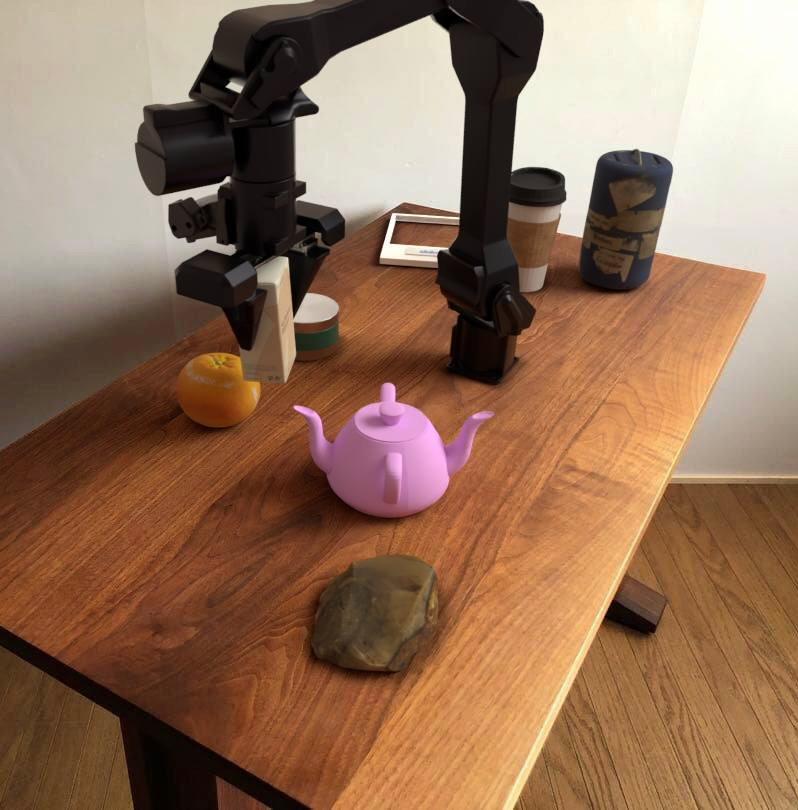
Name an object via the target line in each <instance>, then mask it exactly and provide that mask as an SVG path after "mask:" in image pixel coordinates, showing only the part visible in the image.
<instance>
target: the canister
mask: <svg viewBox="0 0 798 810" xmlns="http://www.w3.org/2000/svg"><path fill="white" fill-rule="evenodd" d="M673 174H674V165H673V163H672V162H671V161H670V160H669V159H668V158H666V157H664V156H662V155H660V154H657V153H653V152H649V151H644V150H643V151H642V150H640V149H639V148H633V149H632V150H631V149H618V150H611V151H608V152H605V153H603V154H602V155H600V156H599V157H598V159H597V161H596V164H595V170H594V174H593V181H592V185H591V190H590V191H591V192H590V198H589V203H588V208H587V213H586V217H585V222H584V228H583V234H582V239H581V245H580V251H579V258H578V262H577V263H578V264H577V270H578V273H579V275H580V276H581V278H582V279H584V280H585V281H586V282H588V283H590V284H593V286H597V287H602V288H605V289H610V290H632V289H635V288H639V287H641V286H643V285H644V284H646V282H647V281H648V280H649V278H650V276H651V271H652V266H653V262H654V258H655V254H656V250H657V245H658V240H659V236H660V232H661V227H662V224H663V220H664V216H665V212H666V211H665V209H666V207H667V201H668V197H669V191H670V187H671V185H672V184H671V183H672V180H673Z"/></svg>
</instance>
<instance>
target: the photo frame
mask: <svg viewBox="0 0 798 810" xmlns="http://www.w3.org/2000/svg"><path fill="white" fill-rule="evenodd" d="M396 221H397V222H409V223H410V222H412V223H424V224H425V223H426V224H439V225H440V224H442V225H456V226H459V217H455V216H441V215H439V216H438V215H424V214H410V213H397V212H396V213H395V212H394V213H393V212H392V213H391V217H390V221H389V224H388V228H387V231H386V235H385V239H384V242H383V244H382V248H381V252H380V256H379V264H380V265H391V266H392V265H393V266H405V267H406V266H407V267H418V268H419V267H420V268H431V269H432V268H433V269H434V268H435V269H438V261H437V254H438V252H439V251H440V250H445V249H448V248H449V247H439V246H427V245H425V246H424V245H414V244H413V245H411V244H397V243H396V244H395V243H391V241H392V237H393V232H394V229H395V225H396Z"/></svg>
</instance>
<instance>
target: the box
mask: <svg viewBox="0 0 798 810" xmlns="http://www.w3.org/2000/svg"><path fill="white" fill-rule="evenodd" d="M257 276H258V285H257V287H258V288H261V289H265V290H267V296H266V300H265V304H264V308H263V312H262V316H261V320H260V324H259V328H258V332H257V336H256V339H255V342H254V345H253V348H252V350H250V351H246V350H243V349H241V348H240V346H239V345H238V350H239V351H238V352H239V357H240V359H241V366H242V374H243V380H244V381H252V382H260V383H264V384H265V383H266V384H278V385H279V384H282V385H285V384H286V383H287V381H288V378H289V377H290V376H289V375H290V373H291V370H292V368H293V365H294V363H295V361H296V360H295V357H296V347H295V335H294V322H293V311H292V299H291V287H290V275H289V263H288V258H287V257H279V256H278V257H277V258H275V259H273V260H272V261H270V262H268V263H267V264H265V265H263V266H262V267H260V268H258V269H257Z"/></svg>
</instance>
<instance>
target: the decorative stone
mask: <svg viewBox="0 0 798 810" xmlns="http://www.w3.org/2000/svg"><path fill="white" fill-rule="evenodd" d="M438 616H439V591H438V574H437V572H436V571H435V567H434V566H432V565H431V564H429V563H427V562H425V561H424V560H423V559H421V558H419V557H417V556H414V555H409V554H401V553H392V554H381V555H376V556H374V557H369V558H366V559H364V560H358V561H352V562H351V563H349V565H348V567H347V569H346V570H344V571H343V572H342V573H339V574H338V575H335V577H333V578H332V579H330V581H329V582H328V584H327V586H326V588H325V590H324V591H323V592H322V593H321V594H320V597H319V606H318V609H317V611H316V613H315V616H314V618H315V622H314V623H315V625H314V626H315V628H314V634H313V636H312V637H311V639H310V644H311V647H312V648H313V651H314V652H313V653H314V654H315V656H316V657H317V658H318V659H319V660H321V661H322V662H326V663H331V664H334V665H335V666H338V667H341V668H345V669H351V670H352V669H353V670H359V671H360V670H361V671H373V672H400V671H403V670H405V669H406V668H407V667H408V664H409V662H410V660H411V658H412V657H413V656H414V655H415V654H417V653H419V652H420V651H421V650H422V649H424V648H425V647H426V646H427V644H428V643H429V641H430V639H431V636H432V633H433V632H434V629H435V627H436V625H437V623H438V618H439V617H438Z"/></svg>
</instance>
